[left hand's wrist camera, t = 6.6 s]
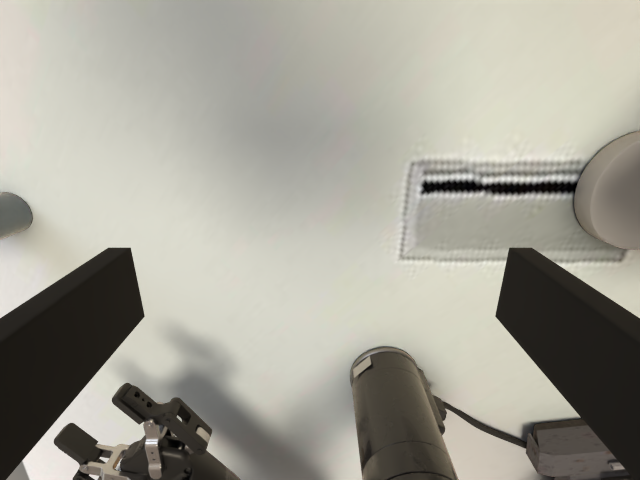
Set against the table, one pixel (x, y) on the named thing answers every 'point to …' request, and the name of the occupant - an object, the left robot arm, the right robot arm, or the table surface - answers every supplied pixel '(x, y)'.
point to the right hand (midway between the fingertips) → (89, 411)
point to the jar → (13, 215)
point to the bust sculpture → (612, 194)
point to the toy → (572, 453)
